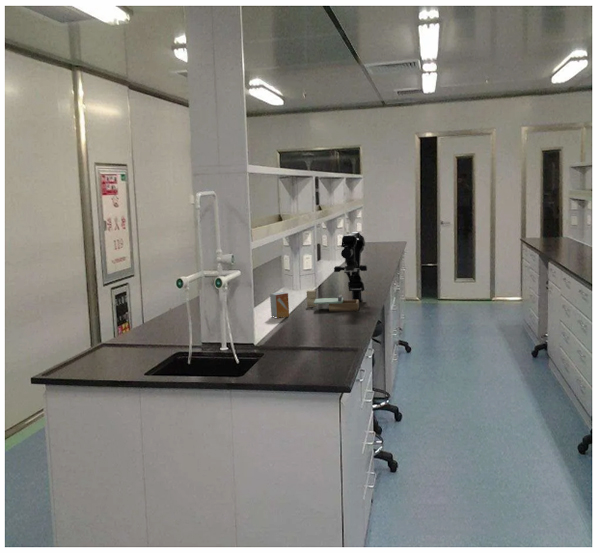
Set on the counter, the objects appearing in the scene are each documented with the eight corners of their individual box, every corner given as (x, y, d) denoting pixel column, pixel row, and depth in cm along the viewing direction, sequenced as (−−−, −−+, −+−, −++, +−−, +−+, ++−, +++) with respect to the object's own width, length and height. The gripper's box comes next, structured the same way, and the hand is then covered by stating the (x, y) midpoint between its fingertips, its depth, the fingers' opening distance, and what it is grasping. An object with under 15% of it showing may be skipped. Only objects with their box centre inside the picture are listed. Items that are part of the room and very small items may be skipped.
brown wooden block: (308, 305, 354) (307, 290, 352) (316, 305, 353) (315, 290, 351) (307, 306, 349) (306, 291, 348) (315, 306, 348) (314, 291, 347)
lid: (316, 300, 344) (315, 295, 343) (343, 299, 341) (343, 294, 341) (313, 304, 332) (313, 299, 332) (342, 303, 330) (341, 298, 330)
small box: (277, 318, 321) (275, 294, 319) (271, 317, 326) (269, 293, 324) (289, 316, 325) (288, 292, 323) (283, 314, 330) (282, 291, 329)
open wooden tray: (331, 307, 343) (330, 300, 343) (358, 306, 341) (358, 299, 340) (329, 311, 331) (328, 304, 331) (357, 310, 329) (357, 303, 328)
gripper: (332, 258, 335) (334, 286, 337) (365, 257, 332) (367, 284, 334) (334, 256, 346) (335, 283, 348) (366, 255, 343) (367, 281, 345)
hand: (351, 283), depth 343 cm, fingers closed
